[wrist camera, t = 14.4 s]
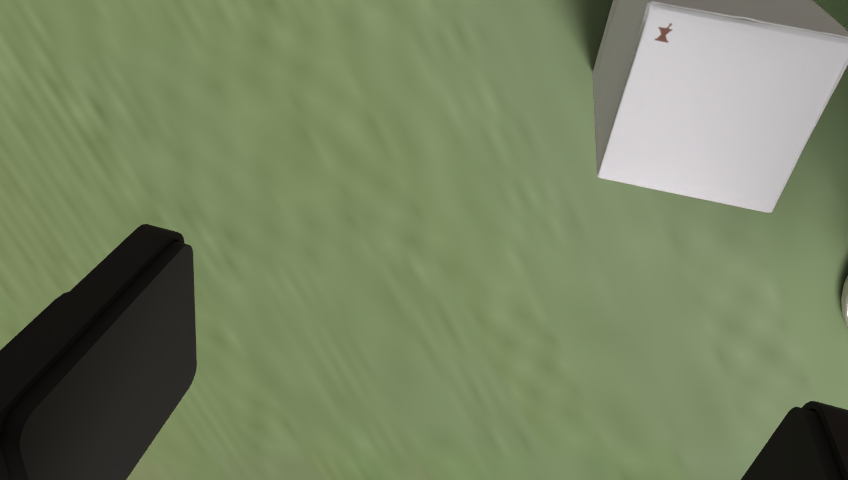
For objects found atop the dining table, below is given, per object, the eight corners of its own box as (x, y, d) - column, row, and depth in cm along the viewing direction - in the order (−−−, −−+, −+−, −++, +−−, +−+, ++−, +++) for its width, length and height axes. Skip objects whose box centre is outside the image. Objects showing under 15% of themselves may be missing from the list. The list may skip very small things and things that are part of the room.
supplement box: (588, 76, 38) (588, 179, 28) (630, -65, 34) (647, -7, 23) (721, 104, 37) (772, 220, 27) (780, -36, 33) (867, 37, 23)
